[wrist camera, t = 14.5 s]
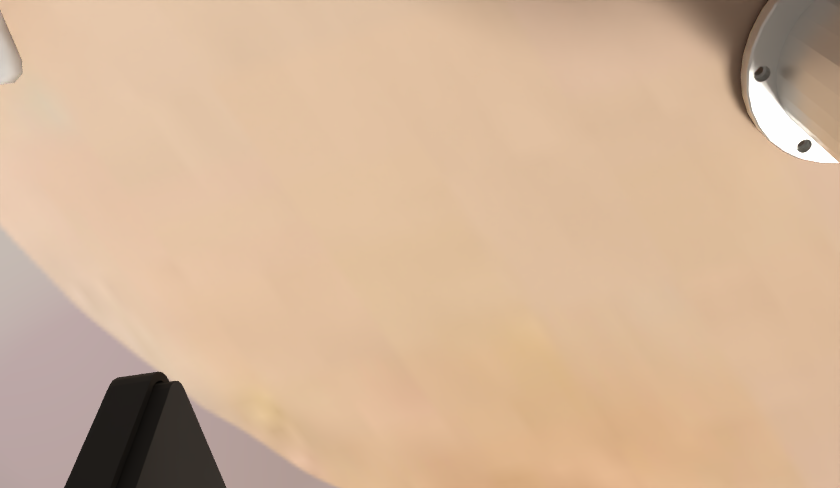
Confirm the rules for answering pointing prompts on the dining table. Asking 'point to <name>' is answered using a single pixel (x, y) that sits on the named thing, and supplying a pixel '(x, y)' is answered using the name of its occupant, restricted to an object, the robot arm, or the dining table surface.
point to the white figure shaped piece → (8, 56)
